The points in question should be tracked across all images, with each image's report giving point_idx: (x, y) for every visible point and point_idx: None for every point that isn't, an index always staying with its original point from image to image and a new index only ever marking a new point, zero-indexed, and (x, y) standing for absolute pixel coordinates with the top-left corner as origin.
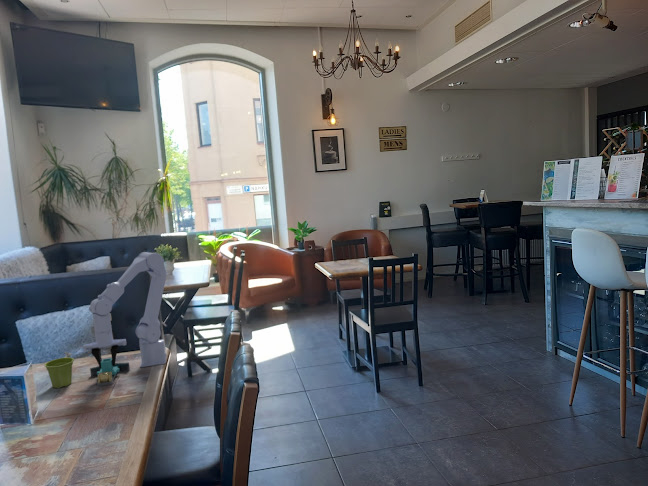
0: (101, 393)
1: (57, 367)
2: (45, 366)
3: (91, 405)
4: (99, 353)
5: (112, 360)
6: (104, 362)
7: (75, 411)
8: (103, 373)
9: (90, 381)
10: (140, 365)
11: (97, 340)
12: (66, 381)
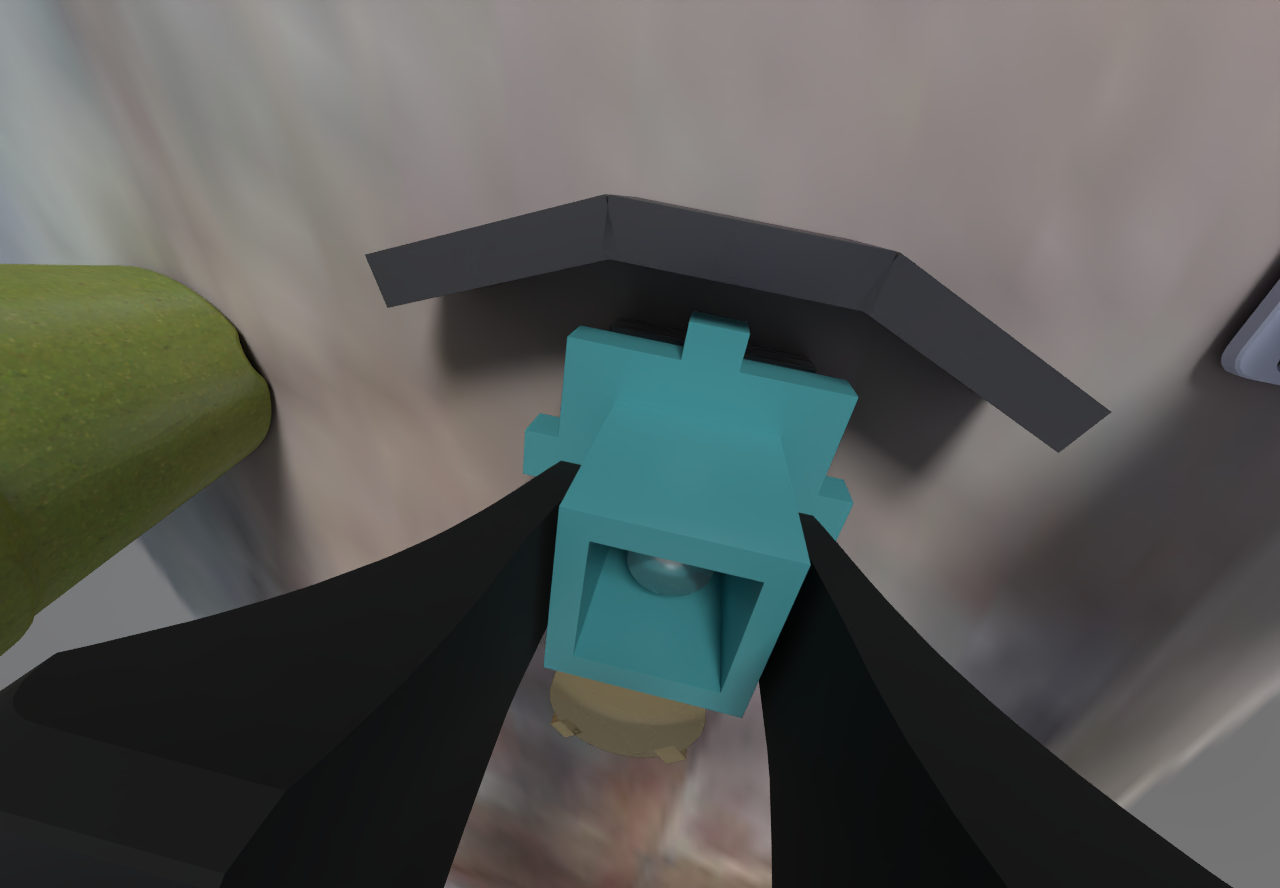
0: (608, 767)
1: None
2: None
3: (558, 856)
4: (434, 837)
5: (769, 706)
6: (613, 676)
7: (484, 860)
8: (612, 696)
9: (481, 464)
10: (1271, 331)
11: None
12: (211, 481)
